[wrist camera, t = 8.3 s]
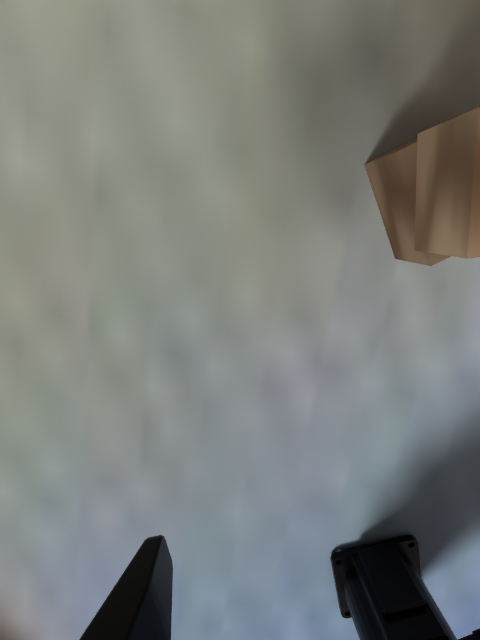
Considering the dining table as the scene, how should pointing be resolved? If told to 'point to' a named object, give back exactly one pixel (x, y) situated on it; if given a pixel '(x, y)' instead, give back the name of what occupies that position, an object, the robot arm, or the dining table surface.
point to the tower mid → (449, 188)
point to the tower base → (399, 201)
